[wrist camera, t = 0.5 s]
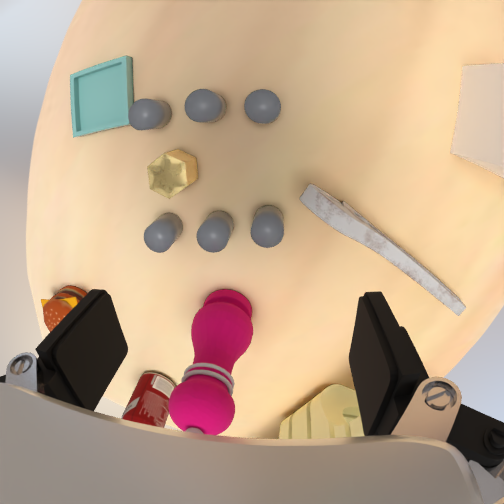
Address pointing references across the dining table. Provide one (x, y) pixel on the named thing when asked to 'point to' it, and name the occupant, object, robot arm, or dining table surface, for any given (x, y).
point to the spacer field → (217, 223)
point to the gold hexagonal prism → (172, 173)
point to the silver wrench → (376, 242)
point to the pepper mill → (212, 364)
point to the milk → (481, 117)
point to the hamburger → (61, 305)
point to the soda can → (150, 400)
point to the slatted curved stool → (325, 416)
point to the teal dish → (102, 96)
